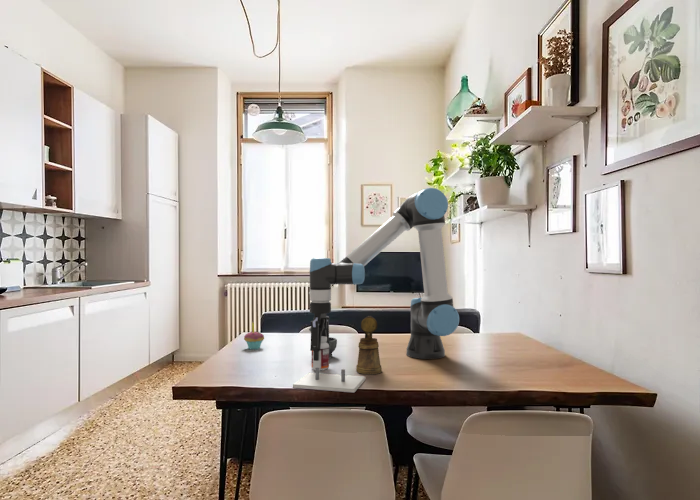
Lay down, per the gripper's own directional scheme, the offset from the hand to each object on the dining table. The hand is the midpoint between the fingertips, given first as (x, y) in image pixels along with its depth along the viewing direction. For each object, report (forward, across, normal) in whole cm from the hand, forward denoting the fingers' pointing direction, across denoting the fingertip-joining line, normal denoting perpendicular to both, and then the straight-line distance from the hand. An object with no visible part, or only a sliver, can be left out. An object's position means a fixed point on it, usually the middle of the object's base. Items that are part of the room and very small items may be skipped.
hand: (320, 367), depth 154 cm
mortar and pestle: (+1, -18, -5) cm, 19 cm away
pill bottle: (+1, 0, 0) cm, 1 cm away
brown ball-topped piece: (+1, -3, +17) cm, 17 cm away
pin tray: (+1, +17, +9) cm, 19 cm away
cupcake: (+1, -26, -39) cm, 47 cm away
